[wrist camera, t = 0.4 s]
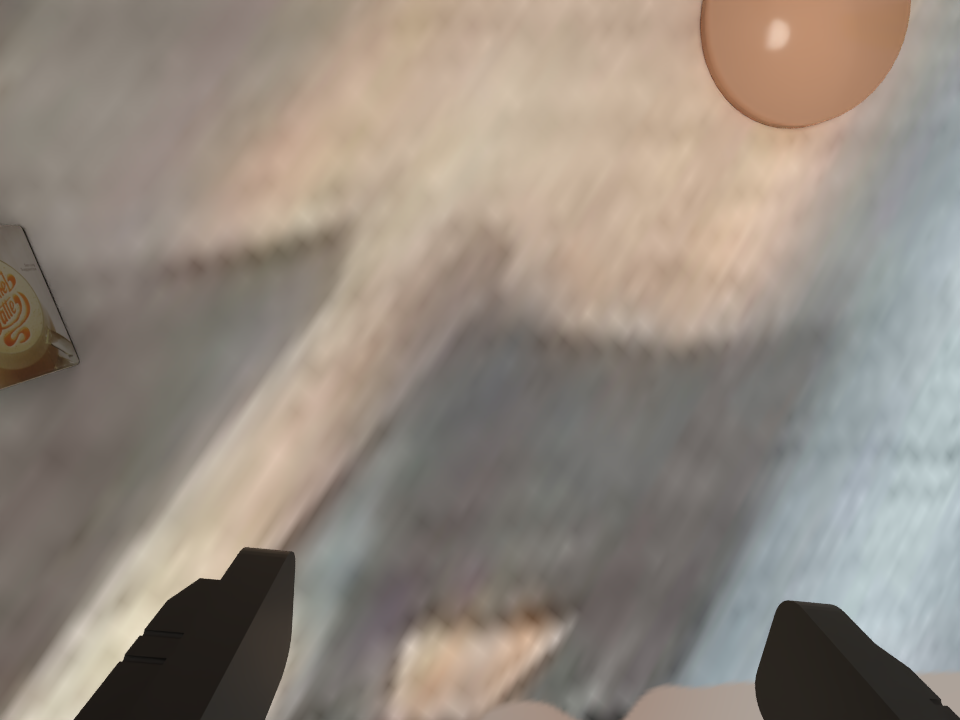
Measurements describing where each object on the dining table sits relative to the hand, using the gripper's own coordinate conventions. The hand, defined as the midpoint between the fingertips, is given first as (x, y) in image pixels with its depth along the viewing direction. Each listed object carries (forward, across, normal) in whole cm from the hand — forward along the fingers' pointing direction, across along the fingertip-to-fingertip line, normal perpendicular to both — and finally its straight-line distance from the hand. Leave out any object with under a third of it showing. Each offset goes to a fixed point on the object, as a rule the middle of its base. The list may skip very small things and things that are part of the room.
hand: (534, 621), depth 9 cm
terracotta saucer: (+30, -18, -21) cm, 41 cm away
